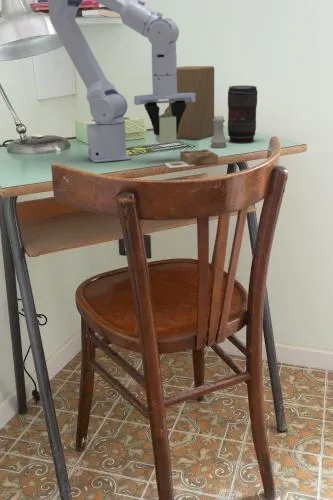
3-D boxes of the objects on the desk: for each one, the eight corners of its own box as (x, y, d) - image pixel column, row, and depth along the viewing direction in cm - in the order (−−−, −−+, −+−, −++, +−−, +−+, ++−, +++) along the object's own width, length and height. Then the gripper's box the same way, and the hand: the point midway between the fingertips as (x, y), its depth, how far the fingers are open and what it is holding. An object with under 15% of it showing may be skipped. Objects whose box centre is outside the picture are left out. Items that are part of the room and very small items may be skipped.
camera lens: (226, 143, 150) (227, 88, 145) (228, 138, 158) (228, 85, 152) (255, 143, 149) (257, 87, 144) (255, 138, 156) (257, 85, 151)
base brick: (189, 165, 125) (189, 156, 124) (180, 160, 132) (180, 151, 131) (217, 163, 127) (217, 153, 126) (207, 157, 133) (207, 148, 133)
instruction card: (169, 168, 124) (169, 167, 123) (163, 164, 128) (163, 162, 128) (194, 165, 125) (194, 164, 125) (187, 161, 130) (187, 160, 129)
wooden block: (187, 133, 170) (186, 66, 163) (214, 135, 164) (215, 66, 157) (169, 137, 162) (167, 68, 155) (197, 140, 157) (196, 68, 150)
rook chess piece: (226, 148, 144) (226, 117, 141) (209, 148, 145) (209, 117, 142) (227, 145, 148) (227, 115, 145) (211, 145, 149) (211, 115, 146)
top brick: (160, 143, 128) (159, 116, 126) (155, 140, 132) (155, 114, 129) (176, 142, 129) (176, 115, 127) (171, 139, 133) (171, 113, 130)
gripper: (138, 77, 119) (140, 138, 124) (199, 74, 123) (199, 134, 128) (131, 75, 126) (133, 134, 131) (189, 73, 129) (190, 130, 134)
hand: (165, 134), depth 130 cm, fingers closed on top brick, 4 cm apart
